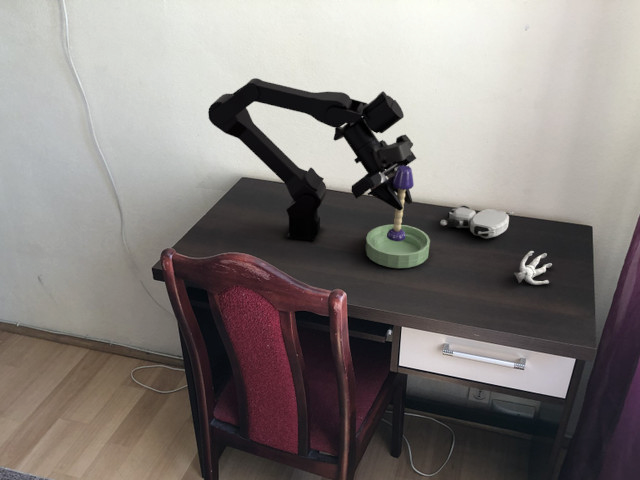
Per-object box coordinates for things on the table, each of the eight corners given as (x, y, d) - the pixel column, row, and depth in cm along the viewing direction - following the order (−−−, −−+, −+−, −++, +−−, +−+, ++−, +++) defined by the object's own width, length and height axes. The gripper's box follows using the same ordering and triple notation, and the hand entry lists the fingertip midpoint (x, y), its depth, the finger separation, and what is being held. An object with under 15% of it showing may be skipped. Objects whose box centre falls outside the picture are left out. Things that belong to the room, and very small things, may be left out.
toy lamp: (399, 230, 158) (405, 161, 148) (412, 238, 155) (419, 169, 145) (382, 235, 155) (388, 166, 146) (395, 244, 152) (401, 174, 143)
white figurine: (559, 277, 152) (545, 285, 142) (539, 286, 155) (524, 295, 145) (542, 245, 153) (527, 252, 143) (523, 255, 156) (506, 262, 146)
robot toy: (436, 234, 167) (495, 247, 160) (437, 217, 165) (497, 230, 158) (457, 215, 176) (514, 227, 169) (458, 198, 174) (516, 210, 166)
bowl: (360, 265, 153) (361, 250, 151) (371, 235, 165) (372, 221, 163) (424, 273, 151) (426, 258, 149) (431, 242, 162) (432, 228, 160)
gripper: (366, 139, 136) (410, 205, 138) (412, 114, 149) (452, 174, 151) (332, 166, 144) (374, 228, 146) (378, 140, 157) (417, 197, 159)
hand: (406, 206), depth 150 cm, fingers closed on toy lamp, 4 cm apart
